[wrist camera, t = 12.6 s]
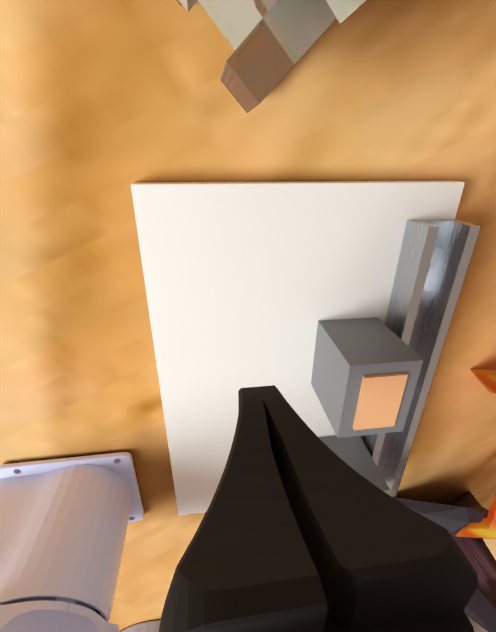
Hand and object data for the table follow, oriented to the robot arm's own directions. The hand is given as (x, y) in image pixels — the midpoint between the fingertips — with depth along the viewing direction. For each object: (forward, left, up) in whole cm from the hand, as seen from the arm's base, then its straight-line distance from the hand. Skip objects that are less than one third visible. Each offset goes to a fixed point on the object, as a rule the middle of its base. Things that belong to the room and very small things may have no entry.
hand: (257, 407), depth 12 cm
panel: (+4, -6, -10) cm, 12 cm away
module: (+7, -4, -9) cm, 12 cm away
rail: (+12, -6, -9) cm, 16 cm away
